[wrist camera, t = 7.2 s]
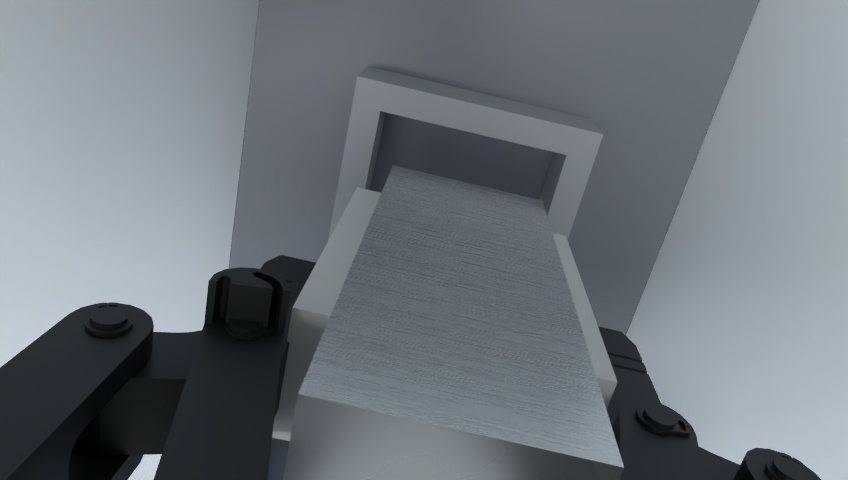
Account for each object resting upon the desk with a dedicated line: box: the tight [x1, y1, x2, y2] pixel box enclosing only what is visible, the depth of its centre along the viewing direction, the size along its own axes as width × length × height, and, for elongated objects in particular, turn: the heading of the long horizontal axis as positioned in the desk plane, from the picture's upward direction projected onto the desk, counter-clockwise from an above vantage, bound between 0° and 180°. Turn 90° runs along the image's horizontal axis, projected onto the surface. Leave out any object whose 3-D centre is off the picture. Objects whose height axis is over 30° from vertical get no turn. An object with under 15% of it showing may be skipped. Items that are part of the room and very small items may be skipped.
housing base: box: [229, 0, 759, 480], centre depth 22 cm, size 28×14×4 cm, turn 168°
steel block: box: [283, 165, 624, 480], centre depth 13 cm, size 4×4×10 cm
